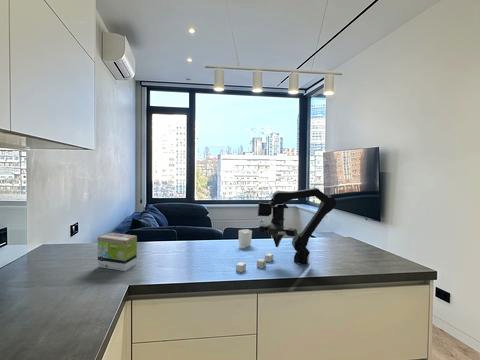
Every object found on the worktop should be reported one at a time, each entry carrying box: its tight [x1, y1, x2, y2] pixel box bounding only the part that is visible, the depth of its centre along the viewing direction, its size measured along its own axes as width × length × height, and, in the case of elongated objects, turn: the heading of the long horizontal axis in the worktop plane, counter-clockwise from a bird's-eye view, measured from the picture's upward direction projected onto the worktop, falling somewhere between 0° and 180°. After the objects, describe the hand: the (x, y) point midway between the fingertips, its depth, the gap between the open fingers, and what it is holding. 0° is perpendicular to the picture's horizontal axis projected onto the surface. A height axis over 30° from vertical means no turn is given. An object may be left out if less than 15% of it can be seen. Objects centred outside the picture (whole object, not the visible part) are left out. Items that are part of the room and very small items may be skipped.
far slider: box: [264, 252, 274, 263], centre depth 163 cm, size 3×4×3 cm
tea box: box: [97, 232, 138, 272], centre depth 151 cm, size 15×10×15 cm, turn 76°
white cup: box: [238, 229, 253, 249], centre depth 189 cm, size 8×8×10 cm
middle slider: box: [256, 258, 267, 269], centre depth 154 cm, size 3×4×3 cm
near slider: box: [235, 261, 247, 273], centre depth 148 cm, size 3×4×3 cm
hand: (277, 247), depth 161 cm, fingers closed
